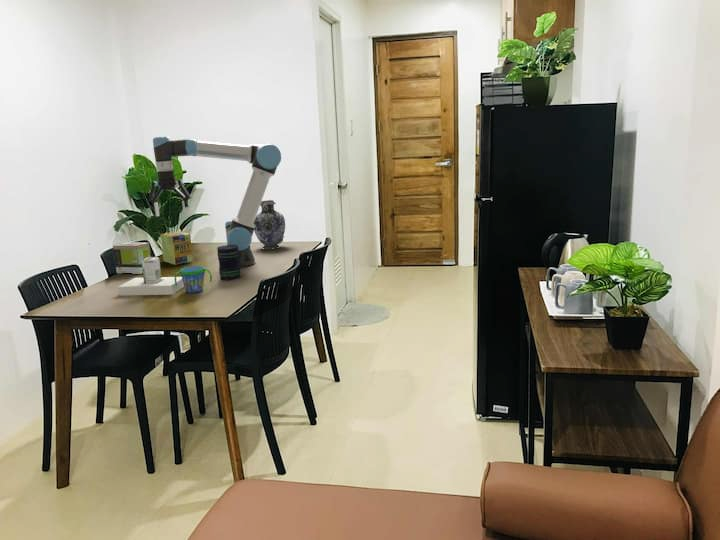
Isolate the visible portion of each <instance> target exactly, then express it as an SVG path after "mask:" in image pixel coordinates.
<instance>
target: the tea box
mask: <svg viewBox="0 0 720 540" xmlns="http://www.w3.org/2000/svg"><path fill="white" fill-rule="evenodd" d="M112 248H113V255H114V262H115V269H116V274H122V273H132V274H131V275H142V273H143V268H142V260H144V259H146V258H149V257H152V255H151V247H150V242H129V241H128V242H123V243H118V244H114V245H112Z"/></svg>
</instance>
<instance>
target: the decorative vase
mask: <svg viewBox="0 0 720 540" xmlns="http://www.w3.org/2000/svg"><path fill="white" fill-rule="evenodd" d="M275 205H276V202H275V201H274V200H272V199H268V200H262V201H261V204H260V207H261V212H257V215H256V218H255V220H254V225H255V229H254V234H255V236H256V238H257V240H258V241H259V242H260V243H261V244H263V246H262V248H264V249H272V248H278V247H279V246H280V244H281V243H283V242H284V238H285V232H286V220H285V217H284V215H283V214H282V213H281V212H279V211H276V210H275ZM264 249H263V250H264Z"/></svg>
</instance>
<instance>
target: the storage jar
mask: <svg viewBox="0 0 720 540" xmlns="http://www.w3.org/2000/svg"><path fill="white" fill-rule="evenodd" d="M216 249H217V259H218V265H219V268H218V270H219V271H218V272H219V279H221V280H220V281H224V282H225V281H226V282H228V281H235V280H240V279H241V278H242V276H241V274H242V273H241V267H240V266H239V251H238V246H237V245H227V244H225V245H221V246H217V248H216Z"/></svg>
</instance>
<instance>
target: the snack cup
mask: <svg viewBox="0 0 720 540" xmlns="http://www.w3.org/2000/svg"><path fill="white" fill-rule="evenodd" d="M206 271H207V272H208V274H209V276H210V277H209V282H210V283H212V282H213V279H212V278H213V277H212V276H213V275H212V273H211V271H210V270H209V269H207V268H206V267H204V266H202V265H201V266H200V265H199V266H198V265H197V266H196V265H195V266H185V267H182V268H180V269H179V270H178V271H176V273H175V275H174V277H175V284H176V286H177V283H176V277H177V275H179V274H180V276H181V277H182V280H183V284H184V287H183V288H184V290H185V292H186V293H190V294H192V293H193V294H194V293H200V292H202V291H203V290H204V284H205V283H204V279H205V273H206Z"/></svg>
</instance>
